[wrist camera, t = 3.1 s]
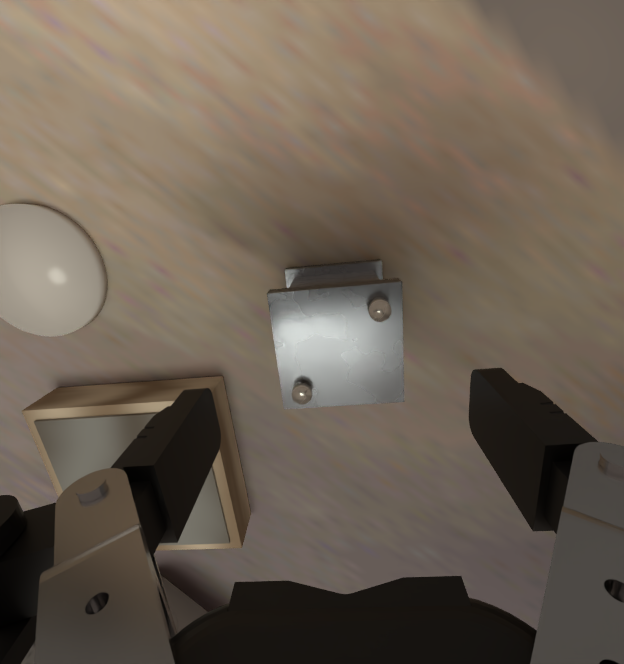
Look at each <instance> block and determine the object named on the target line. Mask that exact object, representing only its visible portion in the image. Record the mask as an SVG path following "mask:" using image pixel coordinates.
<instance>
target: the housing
mask: <svg viewBox="0 0 624 664" xmlns="http://www.w3.org/2000/svg"><path fill="white" fill-rule="evenodd" d="M285 277H286V284H287V288H282V289H271V290H269V292H268V293H267V297H268V304H269V310H270V317H271V324H272V331H273V338H274V345H275V351H276V358H277V365H278V372H279V379H280V386H281V392H282V399H283V406H284V409H297V408H313V407H329V406H345V405H361V404H377V403H394V402H404V362H403V307H402V281H401V280H400V279H399V278H393V279H383V278H382V261H381V260H380V259H376V260H366V261H355V262H345V263H334V264H324V265H313V266H302V267H292V268H286V269H285Z"/></svg>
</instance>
